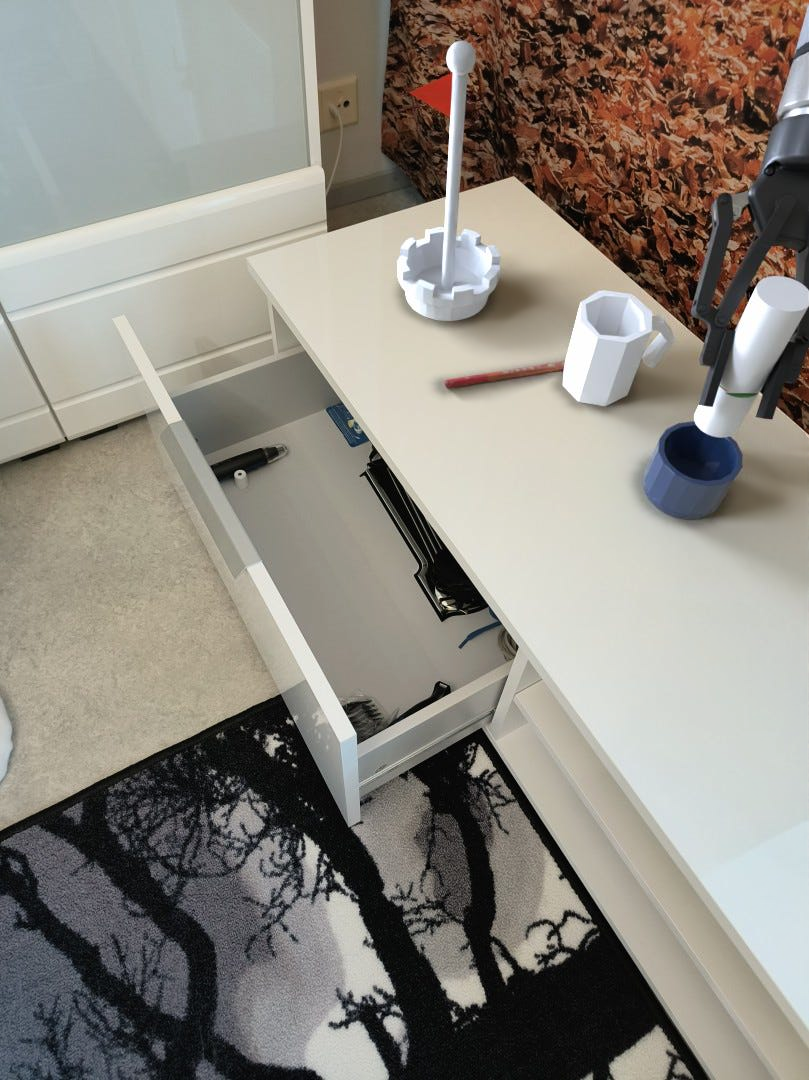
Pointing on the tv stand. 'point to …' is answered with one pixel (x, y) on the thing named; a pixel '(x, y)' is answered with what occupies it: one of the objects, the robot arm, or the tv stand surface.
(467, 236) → the flag stand
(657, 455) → the cup
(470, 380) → the pencil
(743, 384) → the tube
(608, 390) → the mug
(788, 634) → the tv stand surface
